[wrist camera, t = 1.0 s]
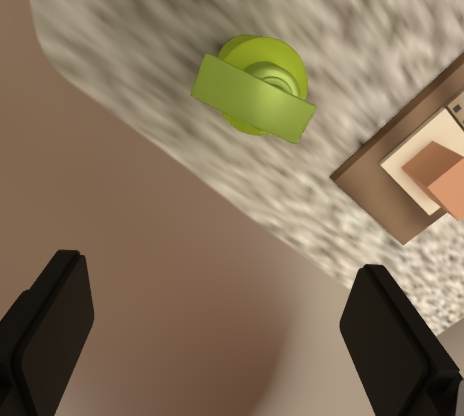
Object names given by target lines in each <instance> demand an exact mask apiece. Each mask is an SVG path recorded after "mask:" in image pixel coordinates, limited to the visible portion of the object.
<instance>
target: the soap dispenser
mask: <svg viewBox="0 0 464 416" xmlns="http://www.w3.org/2000/svg"><path fill="white" fill-rule="evenodd" d="M307 89H308V79H307V73H306V69H305V66H304V64H303V62H302V60H301V58H300V56H299V55H298V54H297V53H296V51H295V50H294V49H293V48H291V47H290V46H289V45H287V44H286V43H284V42H282V41H280V40H277V39H274V38H268V37H260V36H252V35H240V36H237V37H234V38H232V39H231V40H229V41H228V42H227V43H226V44H225V45H224V46H223V47H222V49H221V50H220V52H219V54H218V57H215V56H213V55H211V54H208V53H206V54H205V56H204V59H203V62H202V64H201V67H200V70H199V72H198V75H197V78H196V80H195V83H194V86H193V89H192V91H191V96H193V97H195V98H196V99H198V100H200V101H202V102H204V103H206V104H208V105H210V106H212V107H214V108H216V109H218V110H220V111H221V113H222V115H223V116H224V118H225V119H226V120H227V121H228V122H229V123H230V124H231V125H232V126H233V127H234V128H236V129H237V130H239V131H241V132H244V133H246V134H250V135H268V134H272V135H275V136H277V137H279V138H282V139H284V140H286V141H289V142H291V143H293V144H297V142H298V141H299V139H300V137H301V135H302V133H303V132H304V130H305V128H306V126H307V125H308V123H309V121H310V119H311V117H312V116H313V114H314V112H315V110H316V109H317V107H316V106H315V105H313V104H311V103H309V102H307V101H305V99H306V95H307Z"/></svg>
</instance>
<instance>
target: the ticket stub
mask: <svg viewBox="0 0 464 416" xmlns="http://www.w3.org/2000/svg"><path fill="white" fill-rule="evenodd" d="M378 164H379V165H380V166H381V167H382V168H383V169H384V170H385V171H386V172H387V173H388V174H389V175H390V176H391V177H392V178H393V179H394V180H395V181H396V182H397V183H398V184H399V185H400V186H401V187H402V188H403V189H404V190H405V191H406V192H407V193H408V194H409V195H410V196H411V197H412V198H413V199H414V200H415V202H416V203H417V204H418V205H419V206H420V207H421V208H422V209H423V210H424V211H425V212H426V213H427V214H428V215H431V214H432V213H434V212H435V211H436V210H438V209H439V208H440V207H441V208H443V209H444V210H445V211H446V212H448V213H449V214H450V215H451V216H453V217H454V218H455V219H457V220H458V221H459V220H461V219H462V218H463V217H464V132H463V130H462V129H461V128H460V126H459V125H458V124H457V123H456V121H455V120H454V119H453V117H452V116H451V115H450V114H449V112H448V111H447V110H446V108H443V107H441V108H440V109H439V110H438V111H437V112H436V113H434V114H433V115H432V116H431V117H430V118H429V119H428V120H427V121H425V122H424V123H423V124H422V125H421V126H420V127H419V128H417V129H416V130H415V131H414V132H413V133H412V134H411V135H410V136H408V137H407V138H406V139H405V140H404V141H403V142H402V143H401V144H399V145H398V146H397V147H396V148H395V149H394V150H393V151H391V152H390V153H389V154H388V155H387V156H386V157H385V158H384V159H382V160H381V161H380V162H379V163H378Z"/></svg>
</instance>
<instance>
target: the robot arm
mask: <svg viewBox="0 0 464 416" xmlns="http://www.w3.org/2000/svg"><path fill="white" fill-rule="evenodd" d="M93 321H94V309H93V303H92V296H91V290H90V283H89V277H88V270H87V264H86V258H85V256H84V255H80V252H79V251H77V250H58V251H57V252H56V254H55V255H54V256H53V258H52V259H51V260H50V262H49V263H48V264H47V266H46V267H45V269H44V270H43V271H42V273H41V274H40V275H39V277H38V278H37V279H36V281H35V282H34V284H33V285H32V286H31V288H30V289H29V290H26V291H23V292H22V294H21V295H20V296H19V297H18V298H17V300H16V301H15V302H14V304H13V305H12V306H11V308H10V309H9V310H8V312H7V313H6V314H5V316H4V317H3V318H2V320H1V321H0V416H54V415H55V413H56V410H57V408H58V405H59V403H60V401H61V398H62V396H63V393H64V391H65V389H66V386H67V384H68V382H69V379H70V377H71V375H72V372H73V370H74V368H75V365H76V363H77V360H78V358H79V356H80V353H81V351H82V348H83V346H84V344H85V341H86V339H87V337H88V334H89V332H90V330H91V327H92V325H93ZM340 331H341V334H342V337H343V339H344V341H345V344H346V346H347V349H348V351H349V353H350V356H351V358H352V360H353V363H354V365H355V368H356V370H357V372H358V375H359V377H360V380H361V382H362V384H363V387H364V389H365V392H366V394H367V396H368V398H369V401H370V403H371V406H372V408H373V411H374V413H375V415H376V416H464V379H463V378H462V376H461V375H460V373H459V371H460V369H459V368H458V367H457V365H456V364H455V363H454V361H453V360H452V358H451V357H450V356H449V354H448V353H447V352H446V350H445V349H444V347H443V346H442V345H441V343H440V342H439V341H438V339H437V338H436V336H435V335H434V334H433V332H432V331H431V329H430V328H429V327H428V325H427V324H426V323H425V321H424V320H423V318H422V317H421V316H420V314H419V313H418V312H417V310H416V309H415V307H414V306H413V305H412V303H411V302H410V301H409V299H408V298H407V296H406V295H405V294H404V292H403V291H402V290H401V288H400V287H399V285H398V284H397V283H396V281H395V280H394V279H393V277H392V276H391V274H390V273H389V272H388V270H387V269H386V268H385V267H384V266H383V265H374V264H366V265H364V266H363V268H360V269H359V270H358V272H357V275H356V278H355V281H354V284H353V286H352V289H351V292H350V295H349V298H348V300H347V303H346V306H345V309H344V311H343V314H342V317H341V320H340Z"/></svg>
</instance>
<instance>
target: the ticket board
mask: <svg viewBox="0 0 464 416" xmlns="http://www.w3.org/2000/svg"><path fill="white" fill-rule="evenodd" d="M441 107H443V108H446V110H447V111H448V112H449V114H450V115H451V116H452V117H453V119H454V120H455V121H456V123H457V124H458V125H459V126H460V128H461V129H462V130H463V132H464V53H463V54H462V55H461V56H460V57H459V58H457V59H456V60H455V61H454V62H453V63H452V64H451V65H450V66H449V67H448V68H447V69H446V70H445V71H443V72H442V73H441V74H440V75H439V76H438V77H437V78H436V79H435V80H434V81H433V82H432V83H430V84H429V85H428V86H427V87H426V88H425V89H424V90H423V91H422V92H421V93H420V94H419V95H418V96H416V97H415V98H414V99H413V100H412V101H411V102H410V103H409V104H408V105H407V106H406V107H405V108H403V109H402V110H401V111H400V112H399V113H398V114H397V115H396V116H395V117H394V118H393V119H392V120H391V121H389V122H388V123H387V124H386V125H385V126H384V127H383V128H382V129H381V130H380V131H379V132H378V133H376V134H375V135H374V136H373V137H372V138H371V139H370V140H369V141H368V142H367V143H366V144H365V145H364V146H362V147H361V148H360V149H359V150H358V151H357V152H356V153H355V154H354V155H353V156H352V157H351V158H349V159H348V160H347V161H346V162H345V163H344V164H343V165H342V166H341V167H340V168H339V169H338V170H337V171H335V172H334V173H333V174H332V175H331V176H330V178H331V179H332V180H333V181H334V182H335V183H336V184H337V185H338V186H339V187H340V188H341V189H342V190H343V191H344V192H345V193H347V194H348V195H349V196H350V197H351V198H352V199H353V200H354V201H355V202H356V203H357V204H359V205H360V206H361V207H362V208H363V209H364V210H365V211H366V212H367V213H368V214H369V215H371V216H372V217H373V218H374V219H375V220H376V221H377V222H378V223H379V224H380V225H382V226H383V227H384V228H385V229H386V230H387V231H388V232H389V233H390V234H391V235H392V236H394V237H395V238H396V239H397V240H398V241H399V242H400V243H401V244H402V245H404V244H406V243H407V242H408V241H410V240H411V239H412V238H414V237H415V236H416V235H418V234H419V233H420V232H422V231H423V230H424V229H426V228H427V227H428V226H430V225H431V224H432V223H434V222H435V221H436V220H438V219H439V218H440V217H442V216H443V215H444V214H446V213H447V212H446V211H445V210H444V209H443V208H441V207H440V208H439V209H438V210H436V211H435V212H434V213H432V214H431V215H428V214H427V213H426V212H425V211H424V210H423V209H422V208H421V207H420V206H419V205H418V204H417V203H416V202H415V200H414V199H413V198H412V197H411V196H410V195H409V194H408V193H407V192H406V191H405V190H404V189H403V188H402V187H401V186H400V185H399V184H398V183H397V182H396V181H395V180H394V179H393V178H392V177H391V176H390V175H389V174H388V173H387V172H386V171H385V170H384V169H383V168H382V167H381V166H380V165H379V164H378V163H379V162H380V161H381V160H382V159H384V158H385V157H386V156H387V155H388V154H389V153H390V152H391V151H393V150H394V149H395V148H396V147H397V146H398V145H399V144H401V143H402V142H403V141H404V140H405V139H406V138H407V137H408V136H410V135H411V134H412V133H413V132H414V131H415V130H416V129H417V128H419V127H420V126H421V125H422V124H423V123H424V122H425V121H427V120H428V119H429V118H430V117H431V116H432V115H433V114H434V113H436V112H437V111H438V110H439V109H440V108H441Z"/></svg>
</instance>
